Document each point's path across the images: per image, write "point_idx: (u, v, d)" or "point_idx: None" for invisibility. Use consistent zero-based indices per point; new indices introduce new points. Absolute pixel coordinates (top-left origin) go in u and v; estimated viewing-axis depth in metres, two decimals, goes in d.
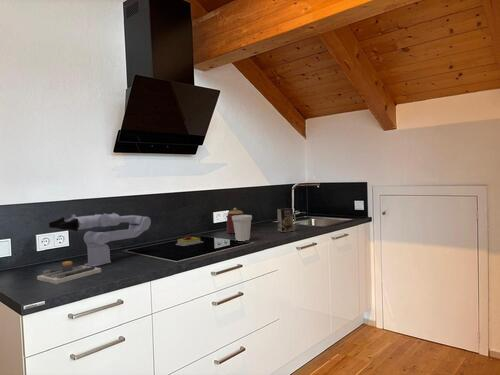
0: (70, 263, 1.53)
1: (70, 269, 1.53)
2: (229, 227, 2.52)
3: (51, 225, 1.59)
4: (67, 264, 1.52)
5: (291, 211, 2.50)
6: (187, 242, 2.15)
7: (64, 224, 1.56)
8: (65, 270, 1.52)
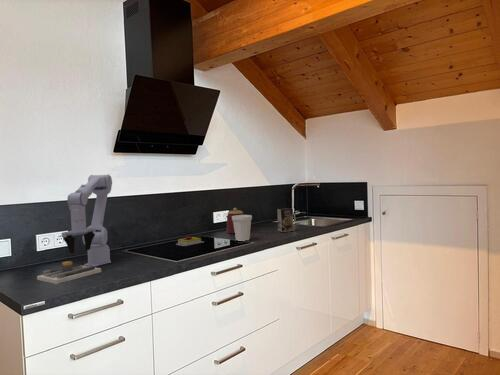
0: (70, 263, 1.53)
1: (70, 269, 1.53)
2: (229, 227, 2.52)
3: None
4: (67, 264, 1.52)
5: (291, 211, 2.50)
6: (188, 242, 2.15)
7: None
8: (65, 270, 1.52)
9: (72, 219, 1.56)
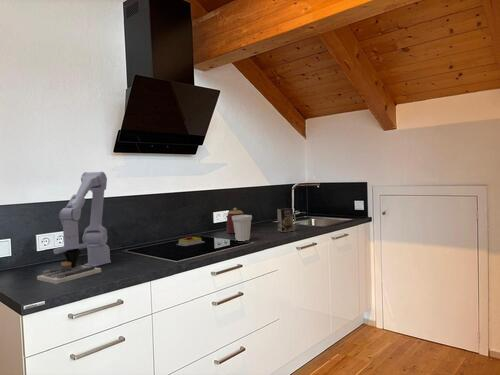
0: (69, 263, 1.53)
1: (69, 269, 1.53)
2: (229, 227, 2.52)
3: None
4: (66, 264, 1.52)
5: (291, 211, 2.50)
6: (188, 242, 2.15)
7: None
8: (64, 270, 1.52)
9: (64, 235, 1.53)
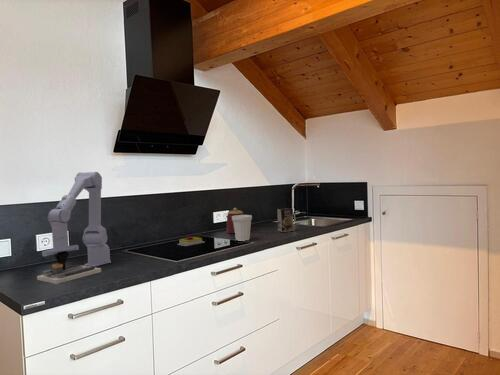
0: (60, 265, 1.50)
1: (60, 271, 1.50)
2: (229, 227, 2.52)
3: None
4: (57, 266, 1.48)
5: (291, 211, 2.50)
6: (189, 242, 2.15)
7: None
8: (55, 272, 1.49)
9: (53, 237, 1.49)
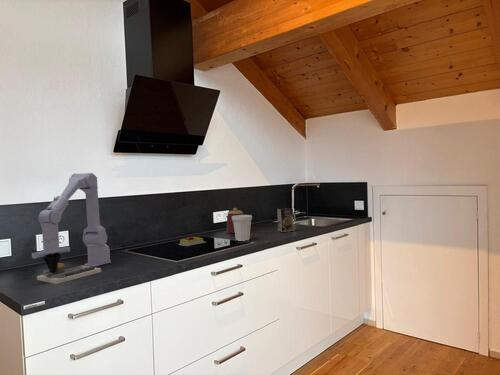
0: (62, 265, 1.50)
1: (62, 271, 1.50)
2: (229, 227, 2.52)
3: None
4: (59, 266, 1.49)
5: (291, 211, 2.50)
6: (190, 242, 2.15)
7: None
8: (57, 272, 1.49)
9: (43, 238, 1.46)
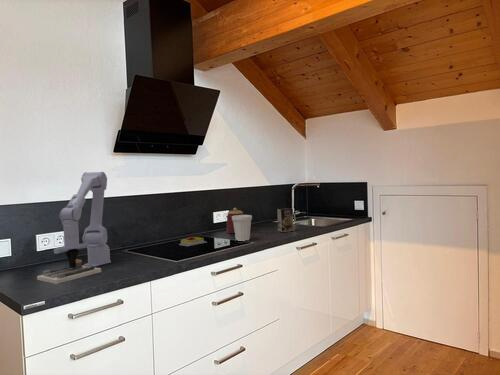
0: (79, 261, 1.57)
1: (79, 267, 1.57)
2: (229, 227, 2.52)
3: None
4: (77, 262, 1.56)
5: (291, 211, 2.50)
6: (191, 242, 2.14)
7: None
8: (75, 268, 1.56)
9: (64, 235, 1.53)
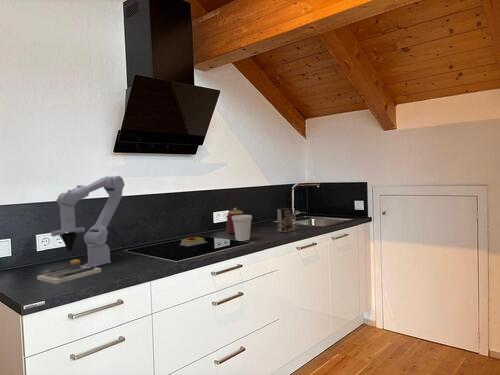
0: (78, 261, 1.56)
1: (78, 267, 1.56)
2: (229, 227, 2.52)
3: None
4: (75, 262, 1.55)
5: (291, 211, 2.50)
6: (191, 242, 2.14)
7: None
8: (73, 268, 1.55)
9: None
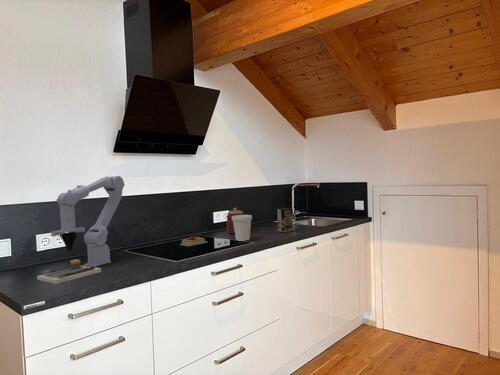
0: (78, 261, 1.56)
1: (78, 267, 1.56)
2: (229, 227, 2.52)
3: None
4: (75, 262, 1.55)
5: (291, 211, 2.50)
6: (192, 242, 2.14)
7: None
8: (73, 268, 1.55)
9: None
